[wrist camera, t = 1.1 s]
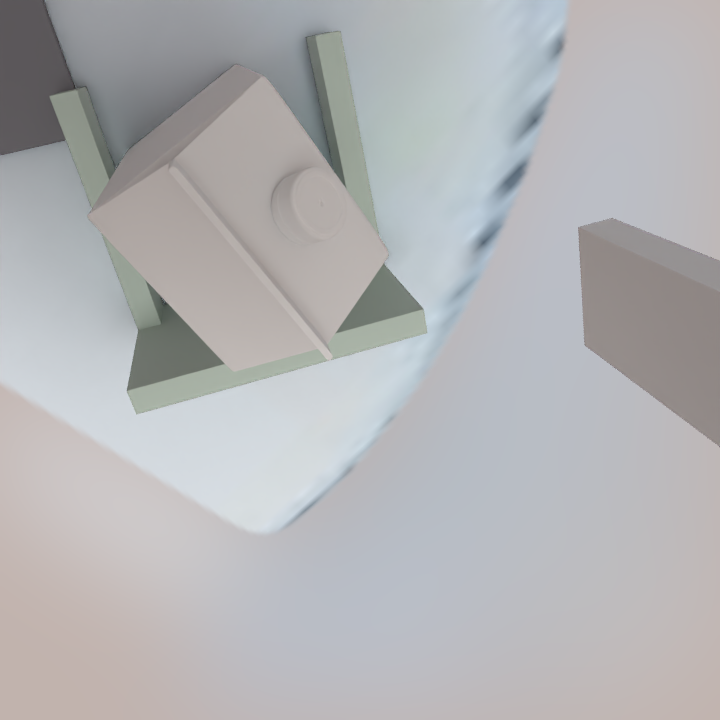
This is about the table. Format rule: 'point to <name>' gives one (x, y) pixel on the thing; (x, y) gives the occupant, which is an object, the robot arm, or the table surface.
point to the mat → (29, 76)
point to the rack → (168, 330)
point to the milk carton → (241, 224)
